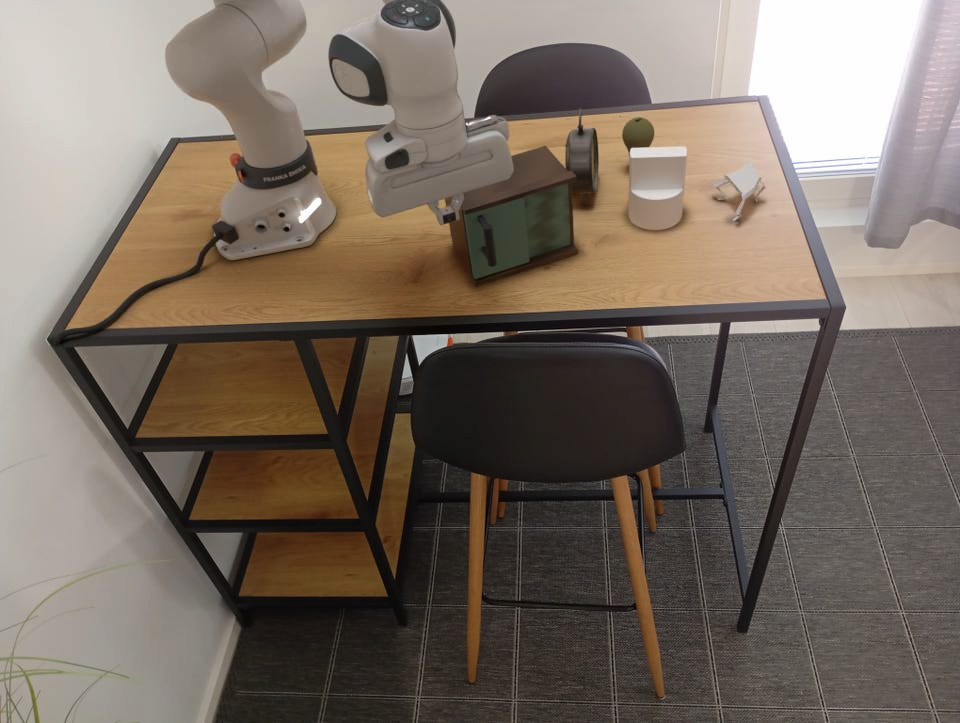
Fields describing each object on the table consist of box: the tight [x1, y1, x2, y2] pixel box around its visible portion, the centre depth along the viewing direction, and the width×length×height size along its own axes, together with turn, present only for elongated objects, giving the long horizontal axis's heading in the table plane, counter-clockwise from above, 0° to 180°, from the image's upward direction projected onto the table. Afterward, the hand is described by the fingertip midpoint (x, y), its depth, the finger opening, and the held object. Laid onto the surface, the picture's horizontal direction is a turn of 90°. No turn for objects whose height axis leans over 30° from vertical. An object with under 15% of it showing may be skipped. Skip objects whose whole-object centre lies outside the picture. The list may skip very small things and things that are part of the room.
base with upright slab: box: [627, 145, 688, 231], centre depth 131 cm, size 9×9×12 cm
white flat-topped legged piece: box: [711, 161, 767, 222], centre depth 132 cm, size 12×8×5 cm
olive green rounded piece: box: [621, 116, 655, 157], centre depth 142 cm, size 6×6×10 cm
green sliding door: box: [463, 197, 529, 279], centre depth 121 cm, size 10×5×12 cm, turn 110°
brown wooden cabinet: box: [444, 145, 579, 287], centre depth 127 cm, size 18×12×15 cm, turn 110°
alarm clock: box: [564, 107, 600, 208], centre depth 136 cm, size 11×5×16 cm, turn 168°
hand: (448, 220), depth 113 cm, fingers closed
